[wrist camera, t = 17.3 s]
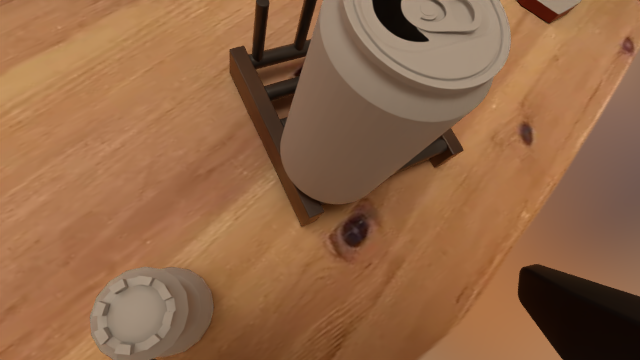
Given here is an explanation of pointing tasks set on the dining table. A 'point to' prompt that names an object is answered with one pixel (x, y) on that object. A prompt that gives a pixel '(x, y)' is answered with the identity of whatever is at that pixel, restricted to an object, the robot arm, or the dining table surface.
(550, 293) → the robot arm
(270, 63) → the dish rack
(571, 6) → the toy boat
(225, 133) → the dining table surface
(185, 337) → the rook chess piece
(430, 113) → the beverage can
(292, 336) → the dining table surface
